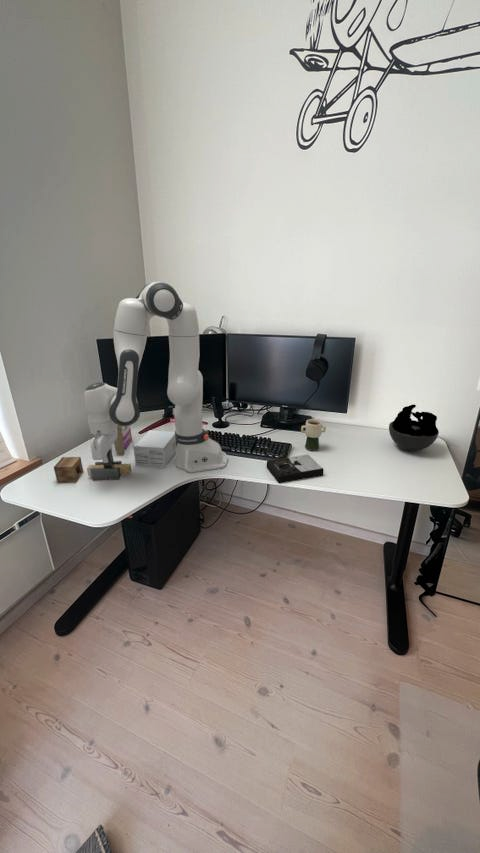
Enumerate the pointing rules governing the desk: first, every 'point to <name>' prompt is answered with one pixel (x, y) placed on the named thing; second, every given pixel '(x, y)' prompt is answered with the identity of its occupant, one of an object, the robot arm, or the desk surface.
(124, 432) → the candy bar box
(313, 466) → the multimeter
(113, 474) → the sleeve channel
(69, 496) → the desk surface
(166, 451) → the supplement box
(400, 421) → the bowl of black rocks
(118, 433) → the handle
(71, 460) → the socket block
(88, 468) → the tan bar
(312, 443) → the character mug
